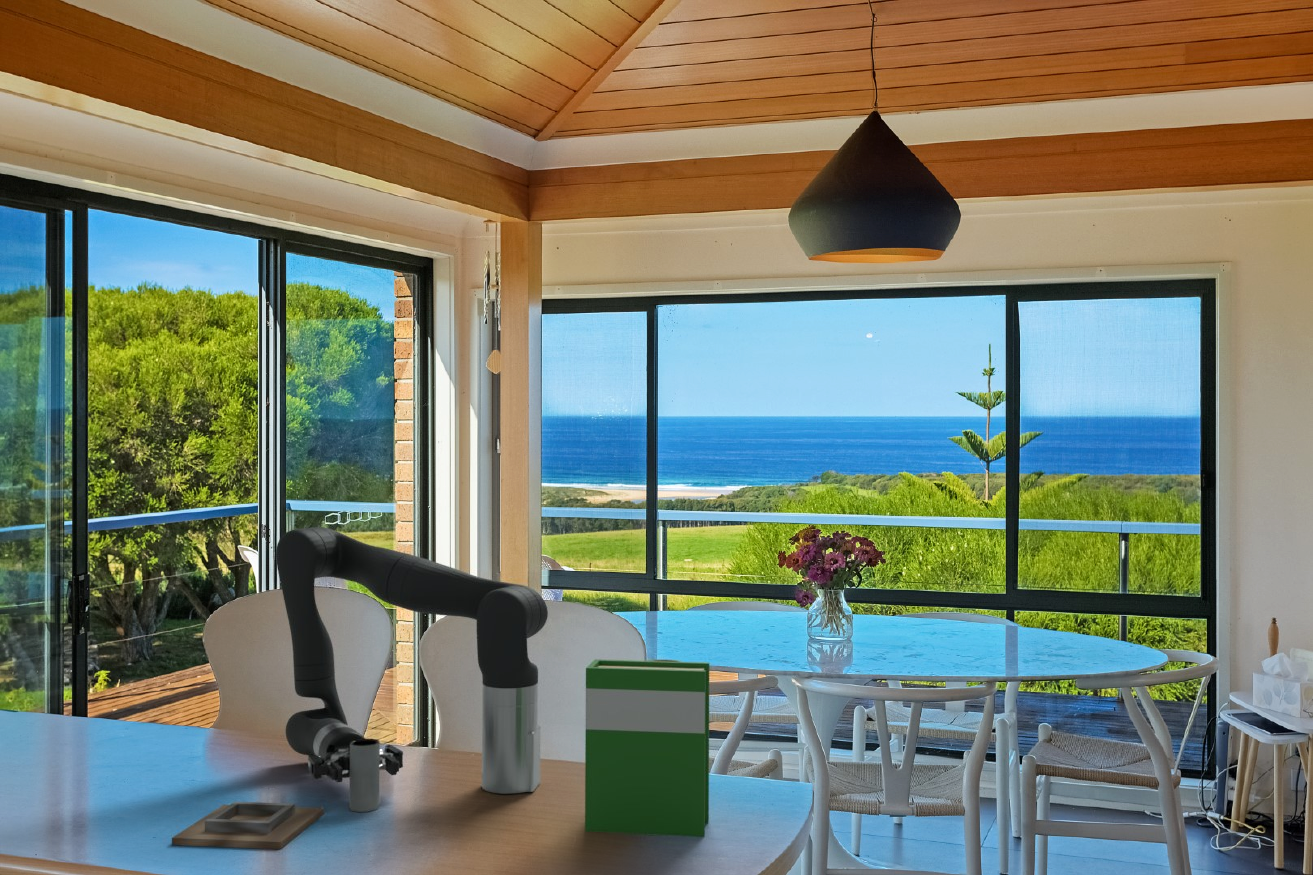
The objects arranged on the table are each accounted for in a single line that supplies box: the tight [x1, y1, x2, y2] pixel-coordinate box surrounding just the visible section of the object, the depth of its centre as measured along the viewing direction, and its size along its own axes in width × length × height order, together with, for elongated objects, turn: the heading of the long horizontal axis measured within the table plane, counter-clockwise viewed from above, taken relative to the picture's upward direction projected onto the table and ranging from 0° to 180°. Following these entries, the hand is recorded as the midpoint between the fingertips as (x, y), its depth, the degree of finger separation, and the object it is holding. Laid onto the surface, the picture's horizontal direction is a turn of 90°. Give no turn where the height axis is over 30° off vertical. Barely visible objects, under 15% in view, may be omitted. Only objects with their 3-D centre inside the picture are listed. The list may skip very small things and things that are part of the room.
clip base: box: [171, 801, 325, 850], centre depth 175 cm, size 16×16×2 cm
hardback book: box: [584, 659, 710, 838], centre depth 177 cm, size 18×7×24 cm, turn 83°
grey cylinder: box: [348, 738, 381, 813], centre depth 185 cm, size 4×4×10 cm
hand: (367, 771), depth 184 cm, fingers open, 8 cm apart
